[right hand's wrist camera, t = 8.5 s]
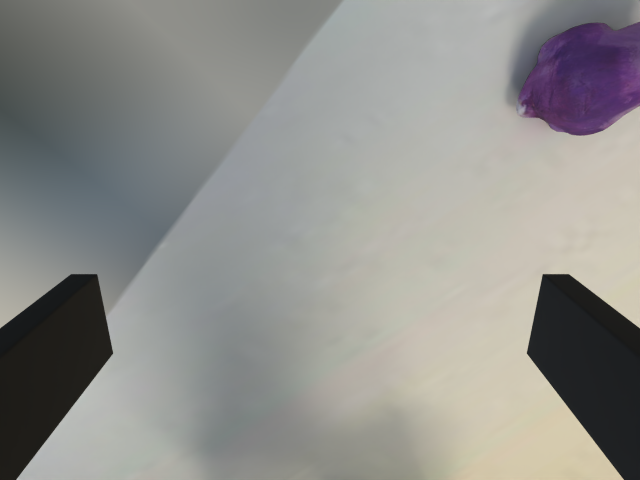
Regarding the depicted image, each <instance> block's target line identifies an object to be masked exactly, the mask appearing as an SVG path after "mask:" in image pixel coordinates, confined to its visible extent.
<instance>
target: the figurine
mask: <svg viewBox="0 0 640 480" xmlns="http://www.w3.org/2000/svg"><path fill="white" fill-rule="evenodd" d="M638 106H640V22H638V23H635V24H632V25H630V26H627V27H625V28H622V29H620V30H617V31H613V30H612V29H611V28H610V27H609V26H608V25H607V24H604V23H588V24H583V25H580V26H576V27H573V28H571V29H569V30H567V31H565V32H563V33H561V34H558V35H556V36H554V37H552V38H550V39H549V40H548V41H547V42H546V43H545V44H544V45H543V46H542V48H541V50H540V53H539V55H538V62H537V65H536V66H535V68H534V69H533V70H532V72H531V73H530V75H529V76H528V78H527V80H526V82H525V84H524V86H523V88H522V90H521V92H520V94H519V97H518V100H517V114H518V115H519V116H521V117H526V118H540V119H542V120H544V121H546V122H548V124H549V126H550V127H551V128H552V129H554V130H555V131H557V132H566V133H569V134H571V135H579V136H581V135H590V134H594V133H597V132H600V131H603V130H605V129H606V128H608V127H609V126H611V125H612V124H613V123H615V122H616V121H617V120H619V119H620V118H621V117H622V116H624V115H625V114H627V113H628V112H630V111H632V110H633V109H635V108H637V107H638Z"/></svg>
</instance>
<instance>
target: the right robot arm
mask: <svg viewBox="0 0 640 480" xmlns="http://www.w3.org/2000/svg"><path fill="white" fill-rule="evenodd" d="M112 354H113V350H112V345H111V340H110V336H109V331H108V326H107V321H106V316H105V311H104V306H103V301H102V296H101V291H100V286H99V281H98V276H97V274H71V275H70V276H68V277H67V278H66V279H64V280H63V281H62V282H60V283H59V284H58V285H57V286H55V287H54V288H53V289H51V290H50V291H49V292H47V293H46V294H45V295H43V296H42V297H41V298H39V299H38V300H37V301H36V302H34V303H33V304H32V305H30V306H29V307H28V308H26V309H25V310H24V311H22V312H21V313H20V314H19V315H17V316H16V317H15V318H13V319H12V320H11V321H9V322H8V323H7V324H5V325H4V326H3V327H1V328H0V480H16V479H17V478H18V476H19V475H20V474H21V473H22V471H23V470H24V469H25V467H26V466H27V465H28V463H29V462H30V461H31V460H32V458H33V457H34V456H35V454H36V453H37V452H38V450H39V449H40V448H41V447H42V445H43V444H44V443H45V441H46V440H47V439H48V437H49V436H50V435H51V434H52V432H53V431H54V430H55V428H56V427H57V426H58V424H59V423H60V422H61V421H62V419H63V418H64V417H65V415H66V414H67V413H68V411H69V410H70V409H71V408H72V406H73V405H74V404H75V402H76V401H77V400H78V398H79V397H80V396H81V394H82V393H83V392H84V391H85V389H86V388H87V387H88V385H89V384H90V383H91V381H92V380H93V379H94V378H95V376H96V375H97V374H98V372H99V371H100V370H101V368H102V367H103V366H104V365H105V363H106V362H107V361H108V359H109V358H110V357H111V355H112ZM527 354H528V355H529V357H530V358H531V359H532V361H533V362H534V363H535V365H536V366H537V367H538V368H539V370H540V371H541V372H542V374H543V375H544V376H545V378H546V379H547V380H548V381H549V383H550V384H551V385H552V387H553V388H554V389H555V391H556V392H557V393H558V394H559V396H560V397H561V398H562V400H563V401H564V402H565V404H566V405H567V406H568V408H569V409H570V410H571V411H572V413H573V414H574V415H575V417H576V418H577V419H578V421H579V422H580V423H581V424H582V426H583V427H584V428H585V430H586V431H587V432H588V434H589V435H590V436H591V437H592V439H593V440H594V441H595V443H596V444H597V445H598V447H599V448H600V449H601V450H602V452H603V453H604V454H605V456H606V457H607V458H608V460H609V461H610V462H611V463H612V465H613V466H614V467H615V469H616V470H617V471H618V473H619V474H620V475H621V476H622V478H623V479H624V480H640V328H639V327H637V326H636V325H635V324H633V323H632V322H631V321H629V320H628V319H627V318H625V317H624V316H623V315H621V314H620V313H619V312H618V311H616V310H615V309H614V308H612V307H611V306H610V305H608V304H607V303H606V302H604V301H603V300H602V299H601V298H599V297H598V296H597V295H595V294H594V293H593V292H591V291H590V290H589V289H587V288H586V287H585V286H584V285H582V284H581V283H580V282H578V281H577V280H576V279H574V278H573V277H572V276H570V275H569V274H543V276H542V281H541V286H540V291H539V296H538V301H537V306H536V311H535V316H534V321H533V326H532V331H531V336H530V340H529V345H528V350H527Z"/></svg>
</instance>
